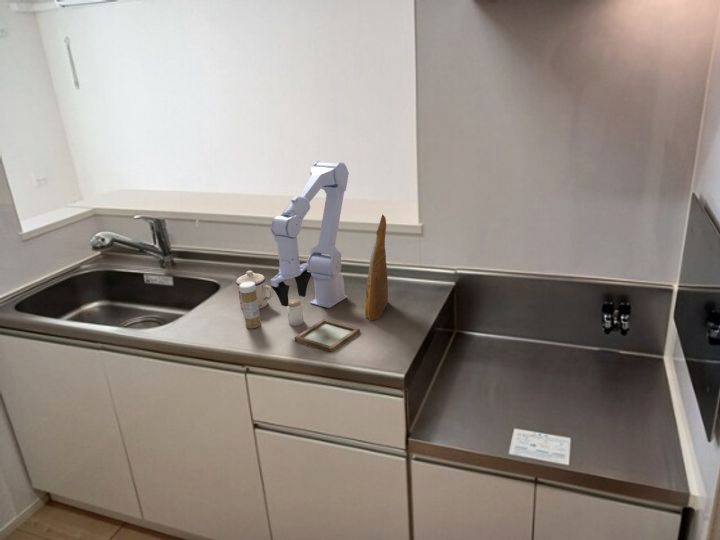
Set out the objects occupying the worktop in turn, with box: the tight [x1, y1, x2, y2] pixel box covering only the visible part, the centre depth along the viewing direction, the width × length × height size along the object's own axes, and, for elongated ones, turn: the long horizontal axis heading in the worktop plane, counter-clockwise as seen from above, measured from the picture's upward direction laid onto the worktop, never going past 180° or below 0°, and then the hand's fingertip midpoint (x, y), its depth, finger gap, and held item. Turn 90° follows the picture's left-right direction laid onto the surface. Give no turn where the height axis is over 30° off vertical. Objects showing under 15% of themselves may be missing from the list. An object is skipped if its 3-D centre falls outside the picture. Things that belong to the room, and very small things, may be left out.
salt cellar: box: [286, 298, 305, 327], centre depth 168 cm, size 4×4×7 cm
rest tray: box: [294, 318, 361, 353], centre depth 159 cm, size 13×13×1 cm
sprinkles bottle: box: [239, 282, 262, 329], centre depth 166 cm, size 5×5×14 cm
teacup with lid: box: [236, 270, 274, 310], centre depth 180 cm, size 12×9×12 cm
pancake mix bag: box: [364, 213, 389, 322], centre depth 169 cm, size 7×19×28 cm, turn 165°
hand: (293, 300), depth 166 cm, fingers open, 7 cm apart
